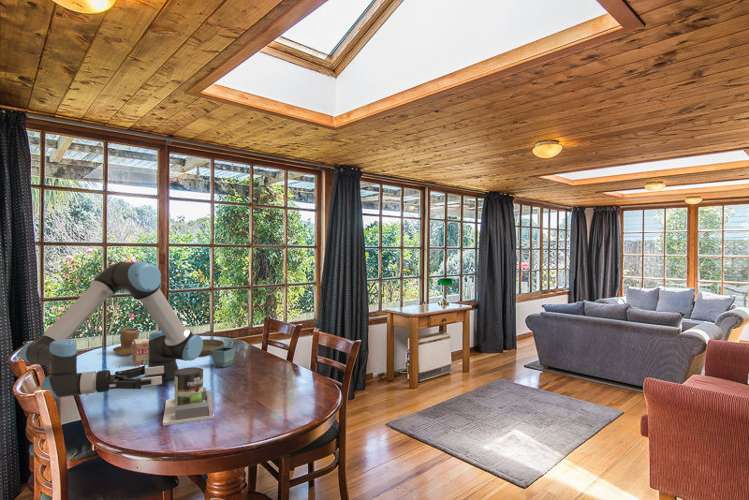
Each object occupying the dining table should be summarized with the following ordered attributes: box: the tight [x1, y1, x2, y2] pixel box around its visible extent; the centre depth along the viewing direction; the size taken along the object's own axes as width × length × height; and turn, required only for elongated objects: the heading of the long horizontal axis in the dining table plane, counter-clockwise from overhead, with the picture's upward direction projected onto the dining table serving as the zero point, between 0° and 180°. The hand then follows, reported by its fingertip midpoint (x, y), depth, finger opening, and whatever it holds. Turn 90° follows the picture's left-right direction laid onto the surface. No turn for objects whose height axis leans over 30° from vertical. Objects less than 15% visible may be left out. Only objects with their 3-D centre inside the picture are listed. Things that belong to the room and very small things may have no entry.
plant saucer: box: [197, 338, 226, 358], centre depth 259 cm, size 31×31×5 cm
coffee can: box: [174, 366, 204, 409], centre depth 167 cm, size 10×10×14 cm
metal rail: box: [206, 389, 214, 416], centre depth 170 cm, size 2×24×2 cm, turn 23°
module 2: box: [203, 387, 207, 400], centre depth 175 cm, size 11×5×4 cm, turn 113°
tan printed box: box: [131, 337, 149, 367], centre depth 237 cm, size 21×6×12 cm, turn 34°
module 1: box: [175, 402, 208, 420], centre depth 159 cm, size 11×5×4 cm, turn 113°
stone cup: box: [112, 327, 140, 356], centre depth 253 cm, size 15×12×15 cm
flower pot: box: [211, 346, 236, 368], centre depth 228 cm, size 9×9×9 cm
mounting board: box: [162, 396, 215, 427], centre depth 167 cm, size 17×25×1 cm
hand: (162, 374), depth 163 cm, fingers open, 13 cm apart
